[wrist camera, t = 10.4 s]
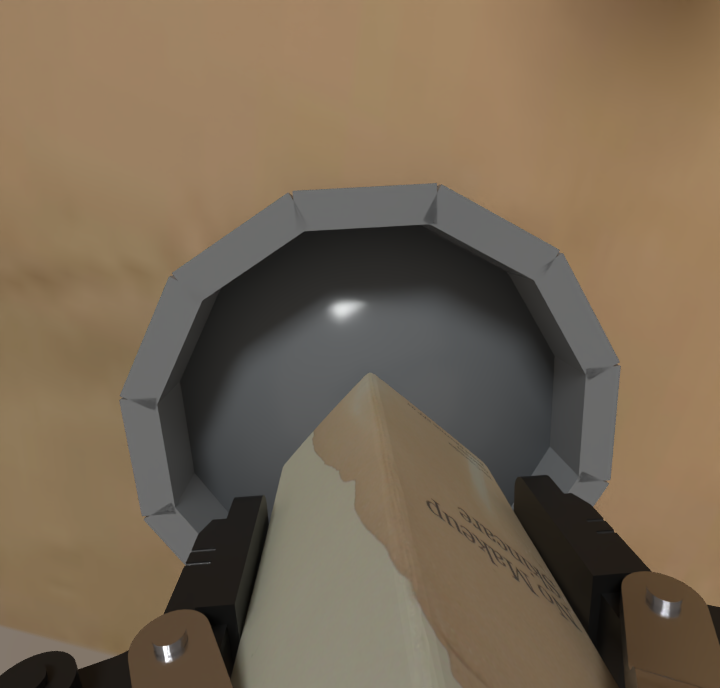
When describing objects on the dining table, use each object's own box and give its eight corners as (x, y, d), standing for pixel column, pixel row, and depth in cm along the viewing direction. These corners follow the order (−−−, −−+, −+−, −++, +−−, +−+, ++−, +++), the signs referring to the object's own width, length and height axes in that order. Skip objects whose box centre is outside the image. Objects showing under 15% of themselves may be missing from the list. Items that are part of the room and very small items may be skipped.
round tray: (587, 178, 18) (641, 168, 15) (562, 566, 22) (599, 622, 19) (123, 203, 17) (76, 199, 14) (191, 597, 21) (167, 659, 18)
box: (489, 464, 15) (900, 1104, 4) (397, 557, 15) (544, 1312, 5) (362, 361, 14) (468, 861, 3) (270, 465, 14) (88, 1178, 4)
